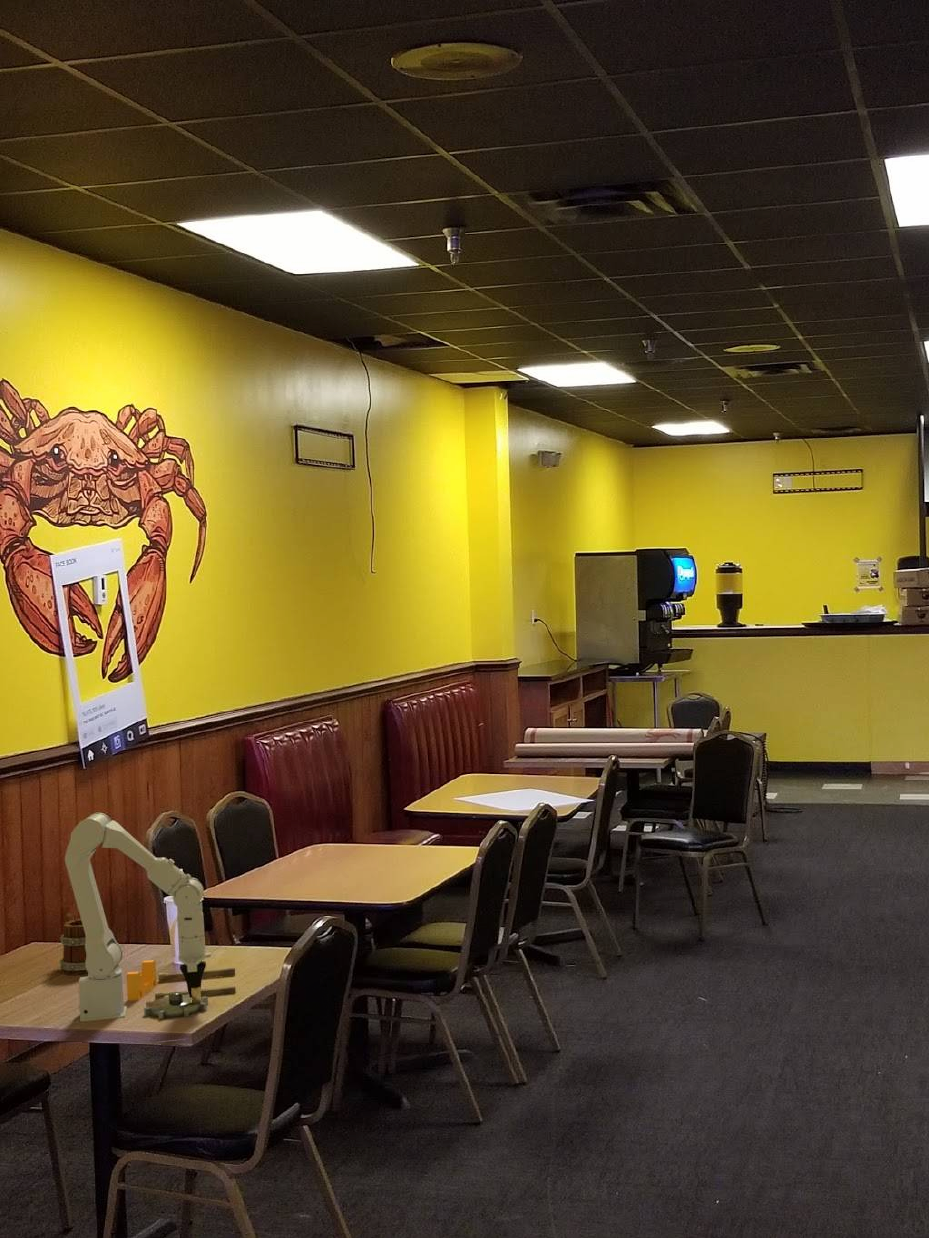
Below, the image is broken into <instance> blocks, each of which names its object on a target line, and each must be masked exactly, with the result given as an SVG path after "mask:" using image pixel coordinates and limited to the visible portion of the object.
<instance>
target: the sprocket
mask: <svg viewBox="0 0 929 1238" xmlns="http://www.w3.org/2000/svg"><path fill="white" fill-rule="evenodd" d="M201 990H202V989H200V986H194V987H191V995H192V997H191V998H190V996H189V994H187V995H183V994H182V992H181V991H173V992H172V993H171V992H168V993H169V995H167V996H164V998H160V999H157V1000H155V999H154V1000H149V1001H148V1000H147V1001H146V1002H145V1007H144V1008H143V1014H144V1015H143V1016H144V1017H148V1016H151V1017H155V1018H158V1019H159V1020H164V1019H166V1018H167V1019H168V1018H180V1017H183V1018H189V1017H190V1015H193V1014H197V1013H198V1012H206V1011H207V1009H208V1008H207V1007H208V1006H207V1005H208V1004H209V999H208V998H209V996H201Z"/></svg>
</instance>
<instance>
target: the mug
mask: <svg viewBox="0 0 929 1238" xmlns="http://www.w3.org/2000/svg"><path fill="white" fill-rule="evenodd" d="M64 917H65V920H66V921H65V923H64V924H63V934H62V935H60V944H61V945H63V951H62V952H63V953H62V954H63V955H62V958H61V959H60V961H59V963H60V964H59V966H60V969H61V970H62V973H63V974H65V975H68V976H71V975H72V976H83V975H84V976H85V975H88V971H87V969H86V966H85V961H86V957H87V954H86V950H85V941H86V935H85V931H84V928H83V924H82V921H81V918H80V919H76V920H75V918H74V916H73V914H72V913H71V912H68V913H65V915H64Z"/></svg>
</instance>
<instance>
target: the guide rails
mask: <svg viewBox="0 0 929 1238" xmlns="http://www.w3.org/2000/svg"><path fill="white" fill-rule="evenodd" d="M227 975H232V976H236V967H231V968H230V967H228V968H218V969H208V970H204V972H203V976H202V979H210V978H220V976H222V977H227ZM166 981H169V982H176V981H177V982H178V981H179V982H180V981H186V980H185V977H184V975H183V973H182V972H175V973H167V972H160V973H158V983H167V982H166ZM236 991H237V989H236V986H234V985H233V986H225V987H223V986H222V987H215V988H213V987H212V988H204V989H201V997H205V996H207V997H209V996H210V997H211V996H220V995H229V994H236V993H237V992H236ZM180 992H182V994H183V995H187V994H189V993H188V990H183V991H180ZM169 993H172V992H164V991H156V992H155V993H154V1000H157V999H160V998H164V996H167V995H169Z"/></svg>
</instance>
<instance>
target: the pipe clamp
mask: <svg viewBox="0 0 929 1238" xmlns="http://www.w3.org/2000/svg"><path fill="white" fill-rule="evenodd" d="M156 963H157V962H156V959H149V960H148V959H144V960H143V961H142V962H141V971H129V972H127V973H126V989H127V991H126V993H127V1001H140V1000H141V999H142V998H143V997H144V996H147V994H148V993H149V992H151V991H152V990H153V989H155V988H156V987H157V986H158V983H157V982H158V981H157V980H158V979H157V964H156Z"/></svg>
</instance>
